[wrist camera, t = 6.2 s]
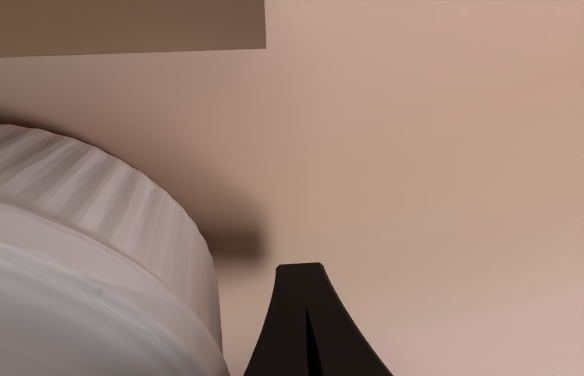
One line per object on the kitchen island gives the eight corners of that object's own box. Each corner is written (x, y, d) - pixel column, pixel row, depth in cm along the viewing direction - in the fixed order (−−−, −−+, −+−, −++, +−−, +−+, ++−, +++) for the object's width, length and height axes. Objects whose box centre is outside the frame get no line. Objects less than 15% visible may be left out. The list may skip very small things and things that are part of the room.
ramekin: (-62, 384, 14) (-211, 584, 10) (-283, 76, 9) (-889, 216, 4) (248, 372, 15) (242, 551, 11) (234, 81, 9) (208, 202, 5)
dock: (284, 403, 16) (288, 488, 14) (-59, 429, 16) (-122, 523, 13) (261, -44, 8) (262, -42, 6) (-464, -28, 7) (-844, -16, 5)
